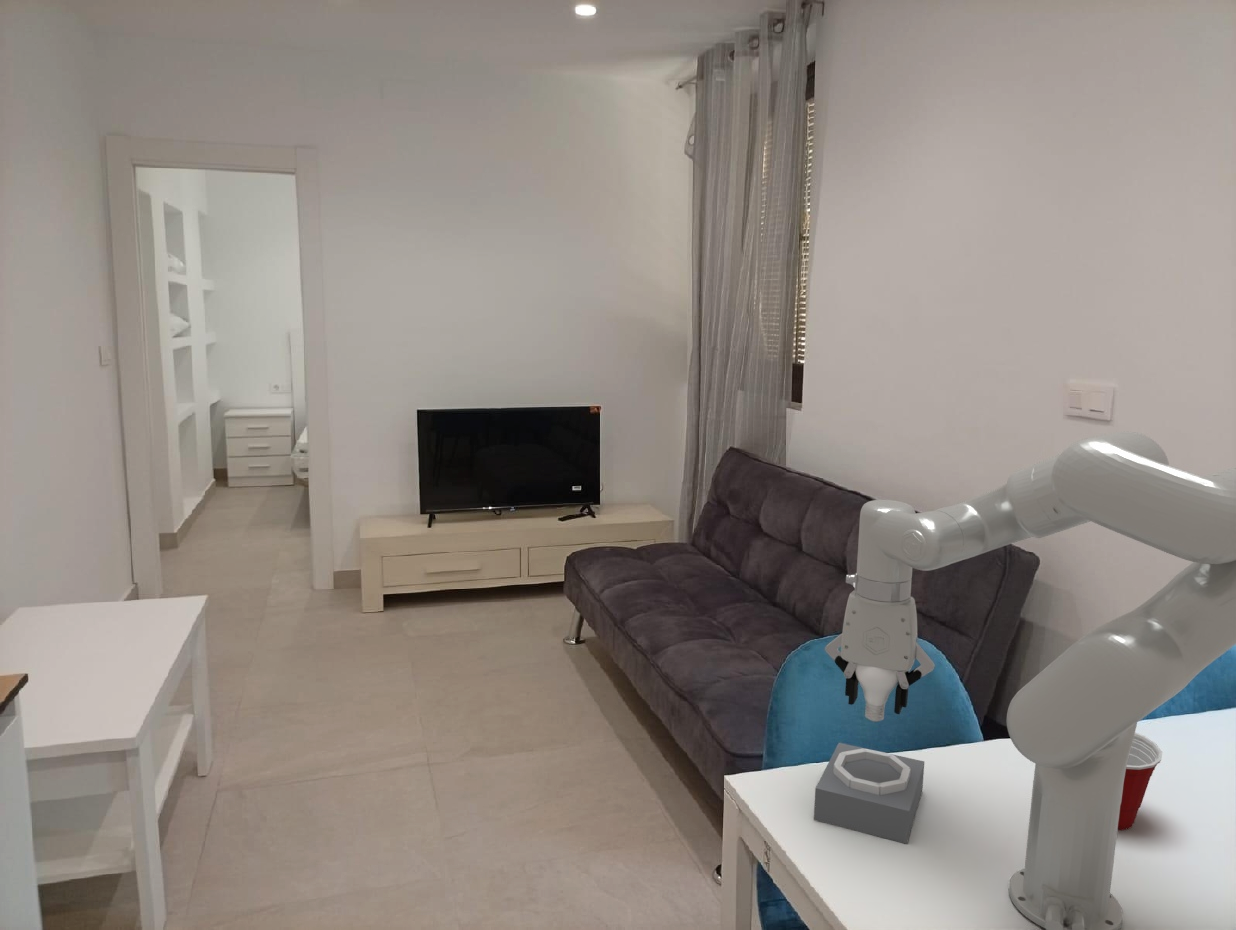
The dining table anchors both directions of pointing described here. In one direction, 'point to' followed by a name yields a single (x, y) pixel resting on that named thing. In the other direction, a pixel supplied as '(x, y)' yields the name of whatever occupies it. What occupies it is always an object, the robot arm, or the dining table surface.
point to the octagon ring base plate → (870, 792)
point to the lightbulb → (876, 689)
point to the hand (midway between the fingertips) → (875, 704)
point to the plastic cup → (1137, 778)
